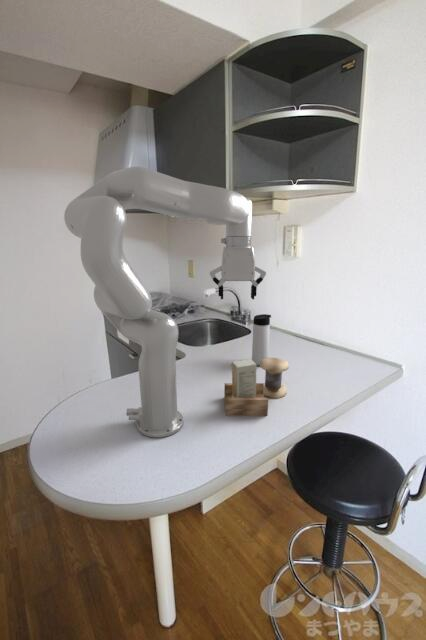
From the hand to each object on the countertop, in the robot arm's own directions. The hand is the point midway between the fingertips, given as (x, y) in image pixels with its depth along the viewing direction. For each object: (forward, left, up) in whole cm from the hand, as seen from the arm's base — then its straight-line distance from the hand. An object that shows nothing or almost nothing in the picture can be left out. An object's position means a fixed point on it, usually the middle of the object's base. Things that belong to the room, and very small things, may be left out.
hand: (237, 298), depth 99 cm
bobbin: (+12, -4, -30) cm, 33 cm away
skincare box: (+1, -13, -28) cm, 31 cm away
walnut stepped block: (+2, -13, -30) cm, 33 cm away
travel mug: (+11, +18, -31) cm, 37 cm away
